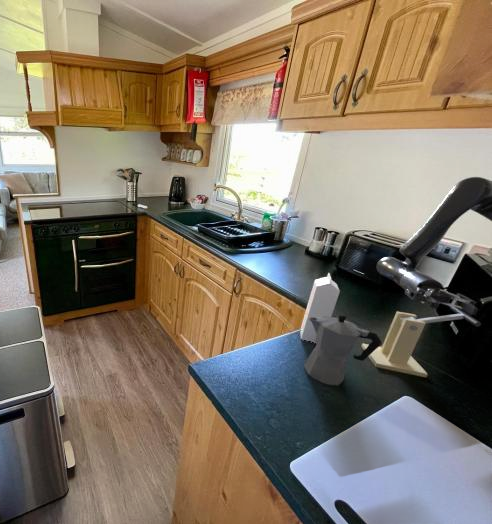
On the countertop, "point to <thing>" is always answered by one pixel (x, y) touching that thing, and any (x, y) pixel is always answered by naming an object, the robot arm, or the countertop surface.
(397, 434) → the countertop surface
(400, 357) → the bracket
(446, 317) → the lever
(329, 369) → the coffeepot
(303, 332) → the milk
